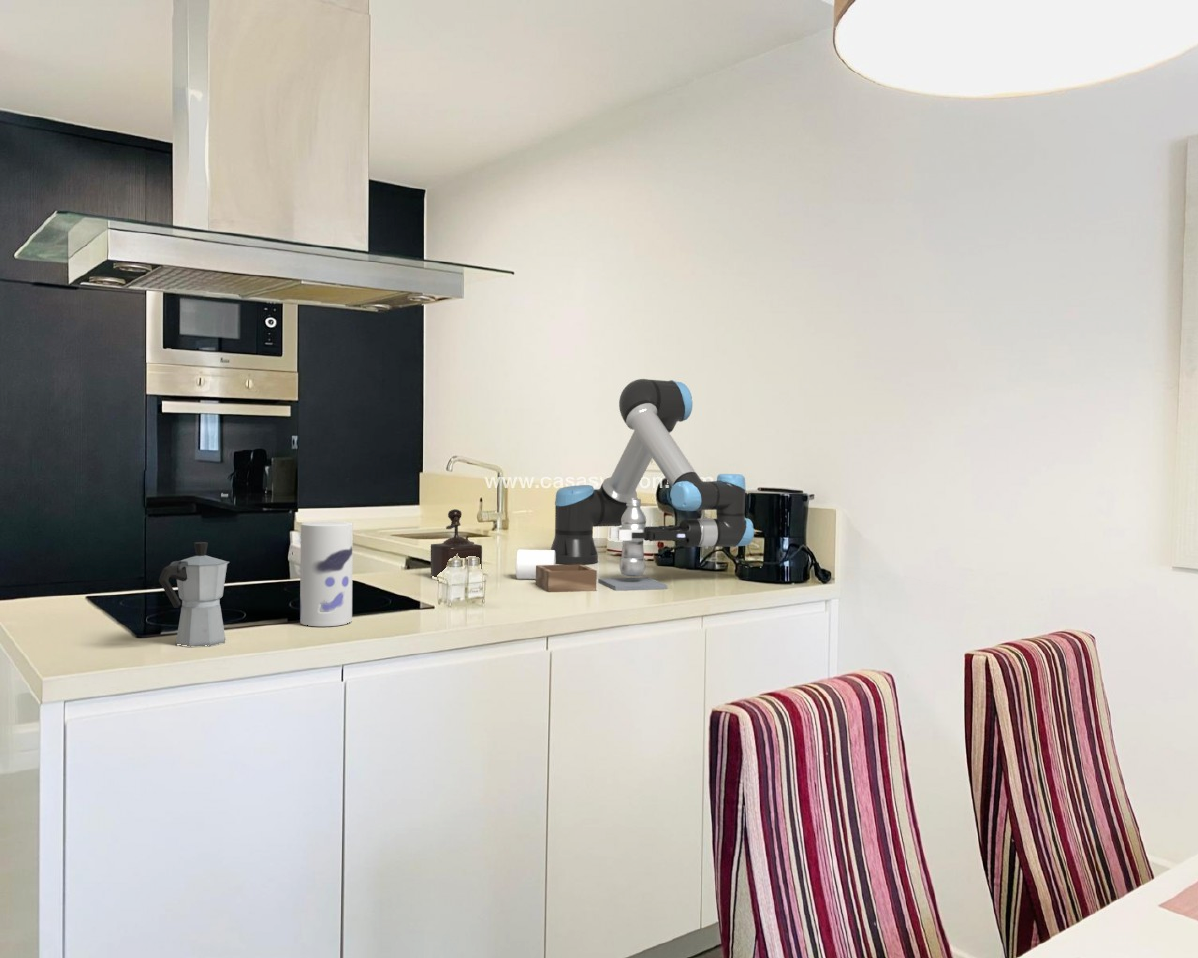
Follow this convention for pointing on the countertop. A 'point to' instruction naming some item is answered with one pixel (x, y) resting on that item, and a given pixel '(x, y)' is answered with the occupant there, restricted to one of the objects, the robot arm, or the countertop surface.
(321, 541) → the container
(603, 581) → the mat
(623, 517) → the plastic bottle
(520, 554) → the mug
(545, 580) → the holder
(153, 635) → the countertop surface
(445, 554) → the manual coffee grinder
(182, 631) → the coffee maker
